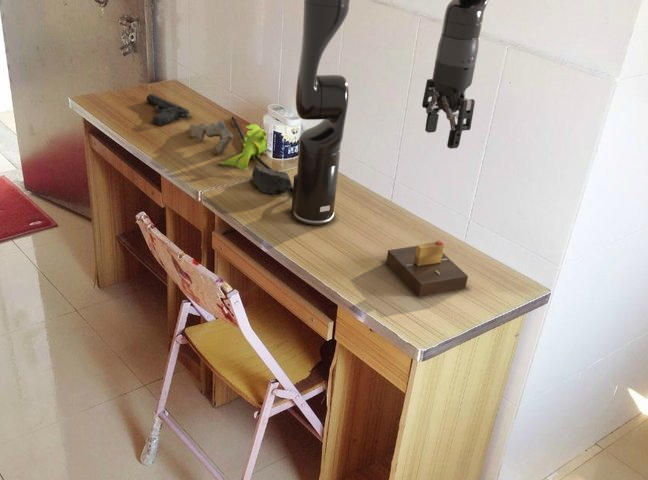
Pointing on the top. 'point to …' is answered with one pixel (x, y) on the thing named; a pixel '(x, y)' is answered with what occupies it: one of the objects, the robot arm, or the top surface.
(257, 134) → the toy
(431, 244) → the red-tipped tan block
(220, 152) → the grey lumpy bent piece
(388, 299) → the top surface
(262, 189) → the rock
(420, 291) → the lock plate
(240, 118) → the top surface
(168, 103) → the handgun
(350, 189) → the top surface
